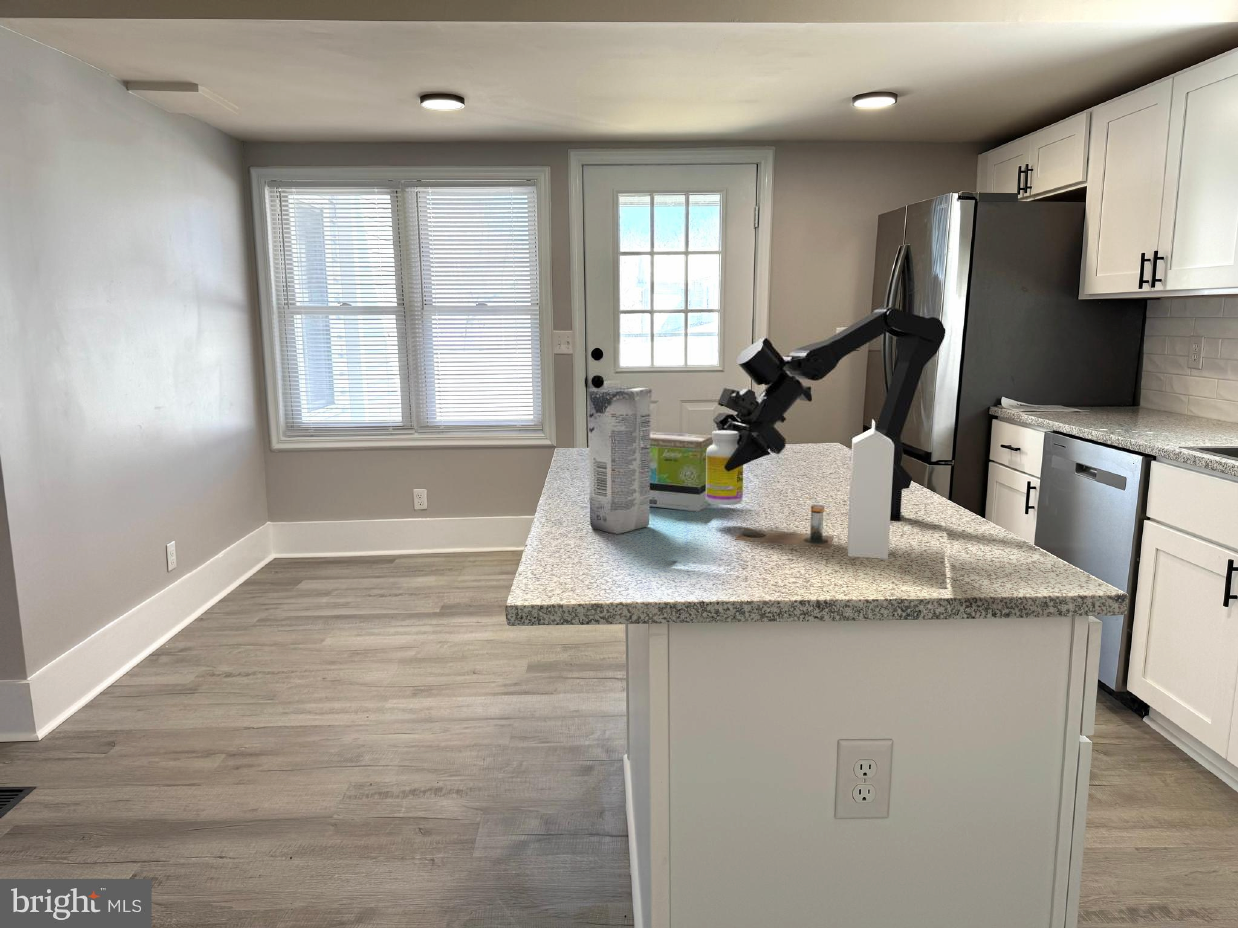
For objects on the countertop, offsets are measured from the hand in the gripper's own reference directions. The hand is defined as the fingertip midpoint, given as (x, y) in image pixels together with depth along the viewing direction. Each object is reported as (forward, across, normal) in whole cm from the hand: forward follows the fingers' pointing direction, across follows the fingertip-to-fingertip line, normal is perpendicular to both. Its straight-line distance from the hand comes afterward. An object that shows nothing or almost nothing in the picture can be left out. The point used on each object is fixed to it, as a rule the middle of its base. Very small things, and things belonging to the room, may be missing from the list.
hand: (717, 466), depth 144 cm
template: (+3, +12, +13) cm, 18 cm away
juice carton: (+20, -7, -3) cm, 21 cm away
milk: (-2, +24, +19) cm, 31 cm away
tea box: (+8, -23, +9) cm, 26 cm away
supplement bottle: (+4, 0, +6) cm, 7 cm away
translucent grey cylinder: (0, +15, +16) cm, 22 cm away
